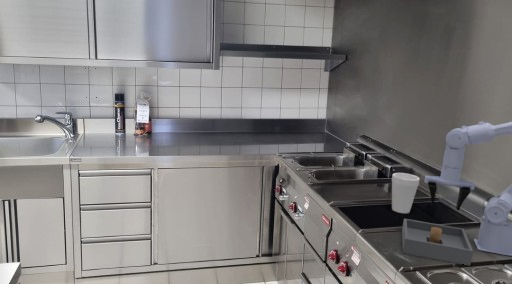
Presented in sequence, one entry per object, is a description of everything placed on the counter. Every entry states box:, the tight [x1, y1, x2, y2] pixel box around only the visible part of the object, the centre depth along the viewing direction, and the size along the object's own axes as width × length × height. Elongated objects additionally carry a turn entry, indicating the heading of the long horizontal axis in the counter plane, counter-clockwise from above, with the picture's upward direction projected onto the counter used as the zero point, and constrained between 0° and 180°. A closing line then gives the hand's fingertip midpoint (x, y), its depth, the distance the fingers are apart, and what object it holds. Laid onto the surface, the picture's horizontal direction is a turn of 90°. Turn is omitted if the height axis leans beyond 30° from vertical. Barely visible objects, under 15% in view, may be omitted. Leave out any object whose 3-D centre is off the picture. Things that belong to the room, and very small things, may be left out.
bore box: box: [401, 218, 474, 267], centre depth 136 cm, size 18×17×4 cm
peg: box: [429, 227, 442, 244], centre depth 136 cm, size 3×3×6 cm
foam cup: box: [391, 172, 420, 214], centre depth 165 cm, size 10×9×13 cm
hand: (444, 207), depth 145 cm, fingers open, 7 cm apart
